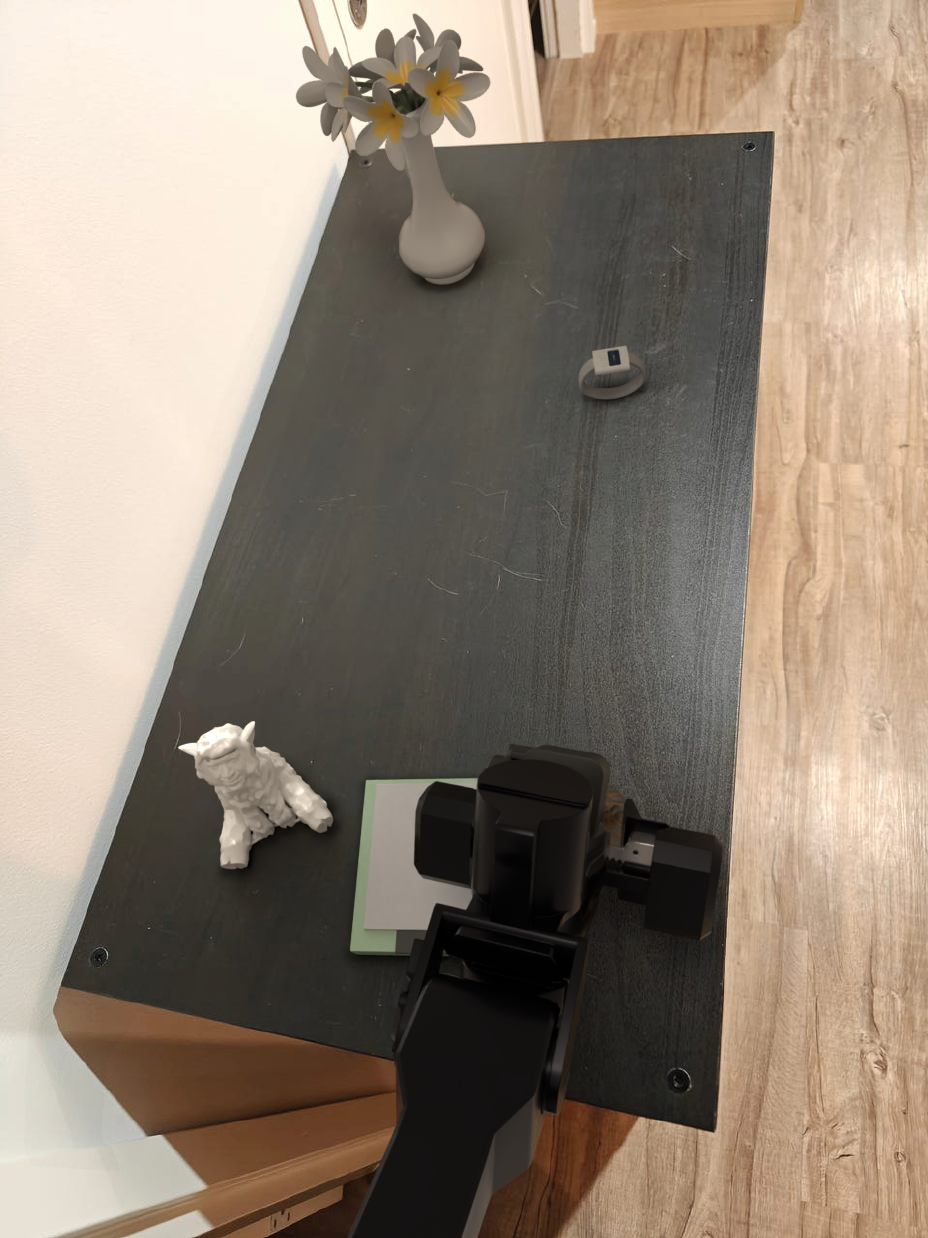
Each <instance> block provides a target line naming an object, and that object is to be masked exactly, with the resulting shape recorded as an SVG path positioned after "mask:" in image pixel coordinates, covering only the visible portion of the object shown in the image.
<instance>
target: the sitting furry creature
mask: <svg viewBox="0 0 928 1238" xmlns="http://www.w3.org/2000/svg"><path fill="white" fill-rule="evenodd" d="M255 726H256V721H253V720H252V721H250V722H248V723H247V725H245V727H244V728H242V727H240V726H238V725H234V724H232V723H228V722H227V723H225V724H224V725H221V726H214V727H213V728H212V729H211V730H209V731H207V732H205V733H203V734H201V736H200V737H199V740H197V741H196V742H188V743H185V744H182V745H179V746H178V747H177V748H178V749H179V750H180V751H182V752H184V753H186V754H188V755H191V756H192V757H193V756H194V757H193V758H194V763H195V764H194V769H195V770H196V776H197V778H198V779H199V780H201V779H203V780H204V781H205V782H207V783H208V785H209V786H214V792H215V794H217V798H218V800H219V801H220V803H221V806H222V808H223V821H222V830H221V834H220V836H219V839H218V842H219V843H220V849H219V850H220V858H219V861H220V868H223V869H228V870H236V869H240V870H241V869H244V868H247V867H248V865H249V861H250V851H251V850H252V846H253V845H255V844H256V843H258V842H259V841H261V840H263V839H267V838H268V836H273V835H274V834H275V830H276V829H275V828H276V827H280V828H282V829H288V828H287V827H290V828H292V827H294V826H295V825H296V823H298V822H301V823H303V824H305V825H308V826H309V828H310V829H312V830H313V831H315V832H316V833H319V834H322V833H326V832H327V831H328V827H329V828H331V827H332V825H333V823H334V817H333V815H332V812H331V811H330V809H329V808H328V803H327V802H326V801H325V800H324V799H323V798H322V796H321V795H319V794H318V793H316V792H315V790H313V789H312V787H311V786H310V784H308V783H307V782H306V781H305V780H303V778H302V776H301V775H298V774H297V772H296V770H295V769H294V767H292V766H291V765H290V763H288V762H287V761H286V759H285V757H282V756H281V753H280V752H276V751H272V750H271V749H269V748H268V747H267V746H262V747H259V746H258V747H257V746H256V747H255V745H254V741H255V737H256V731H255ZM266 814H268V816H267V815H266Z"/></svg>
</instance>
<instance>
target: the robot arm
mask: <svg viewBox="0 0 928 1238" xmlns="http://www.w3.org/2000/svg"><path fill="white" fill-rule="evenodd" d="M610 765H611V764H610V763H609V761H608V760H607V758H606V757H604V755H602V754H600V753H598V752H592V751H585V750H579V749H573V748H567V747H563V746H557V745H553V744H542V745H539V746H536V747H533V746H526V745H521V744H515V743H509V745H508V747H507V752H506V755H502V754H495V755H493V756H492V757H490V758H489V760H488V762H487V764H486V766H485V768H484V769H483V771H482V772H481V773H480V774H479V775H478V777H477V778H478V779H477V789H476V790H475V789H474V788H470V787H465V786H460V785H455V784H449V783H444V782H439V781H435V782H434V783H432V784H431V785H429V786H428V787H427V788H426V790H425V791H424V792H423V794H422V795H421V796H420V798H419V800H418V803H417V807H416V811H415V840H414V866H415V868H416V870H417V871H418V873H419V875H420V876H421V877H422V878H423V879H428V880H432V881H437V882H441V883H446V884H450V885H454V886H459V887H463V888H468V889H471V893H472V899H471V901H470V903H469V905H468V907H467V909H466V910H465V909H461V908H457V907H452V906H448V905H444V904H440V903H436V904H435V906H434V909H433V912H432V915H431V919H430V922H429V925H428V929H427V932H426V935H425V939H424V940H421V939H417V938H414V942H413V946H412V950H411V954H410V956H409V957H408V958H409V959H408V962H407V966H406V970H405V974H404V978H403V982H402V986H401V991H400V993H399V999H398V1001H397V1006H396V1010H395V1014H394V1018H393V1022H392V1026H391V1030H390V1031H391V1032H390V1040H391V1042H392V1046H391V1054H393V1066H394V1068H395V1112H396V1114H395V1116H396V1117H395V1121H396V1124H395V1126H394V1129H393V1132H392V1135H391V1136H390V1139H389V1141H388V1143H387V1145H386V1148H385V1151H384V1153H383V1155H382V1157H381V1158H380V1159H381V1160H380V1162H379V1164H378V1166H377V1167H376V1168H377V1169H376V1171H375V1173H374V1175H373V1178H372V1180H371V1182H370V1183H369V1186H368V1189H367V1191H366V1193H365V1196H364V1198H363V1199H362V1201H361V1202H362V1203H361V1204H360V1207H359V1209H358V1211H357V1214H356V1216H355V1218H354V1220H353V1223H352V1224H351V1225H352V1226H351V1228H350V1230H349V1232H348V1233H347V1236H346V1238H478V1237H479V1234H480V1231H481V1228H482V1225H483V1221H484V1219H485V1215H486V1212H487V1210H488V1207H489V1204H490V1201H491V1198H492V1196H493V1195H494V1194H495V1193H496V1192H498V1191H499V1190H501V1189H502V1188H503V1187H505V1186H506V1185H508V1184H509V1183H511V1182H512V1181H513V1180H515V1179H516V1178H517V1177H519V1176H520V1175H521V1174H522V1173H524V1172H525V1171H527V1170H528V1169H529V1168H530V1167H531V1165H532V1163H533V1159H534V1155H535V1153H536V1151H537V1147H538V1143H539V1140H540V1137H541V1134H542V1131H543V1127H544V1124H545V1121H546V1117H547V1114H550V1115H553V1116H556V1117H559V1116H560V1114H561V1112H562V1108H563V1106H564V1102H565V1098H566V1094H567V1088H568V1083H569V1080H570V1079H569V1078H570V1074H571V1068H572V1063H573V1061H572V1060H573V1057H574V1056H573V1055H574V1051H575V1044H576V1038H577V1032H578V1027H579V1021H580V1014H581V1009H582V1003H583V997H584V993H585V992H584V991H585V986H586V985H585V984H586V979H587V974H588V973H587V972H588V964H589V954H590V945H591V938H590V937H588V936H589V934H590V930H591V927H592V924H593V921H594V917H595V915H596V911H597V909H598V905H599V901H600V898H601V895H602V893H603V890H604V887H610V888H613V889H617V893H616V899H617V900H618V901H623V902H627V903H633V904H637V905H641V906H645V909H644V918H643V929H645V930H649V931H654V932H658V933H663V934H667V935H672V936H676V937H681V938H684V939H689V940H693V941H698V942H701V941H702V940H704V939H705V938H706V937H708V936H709V935H710V934H712V930H713V924H714V917H715V909H716V903H717V899H718V898H717V897H718V891H719V884H720V877H721V870H722V863H723V855H724V847H725V845H724V844H723V842H722V841H721V840H720V839H719V838H718V837H717V835H716V834H711V833H705V832H700V831H695V830H690V829H685V828H680V827H675V826H671V825H669V823H666V822H664V821H663V822H662V821H658V820H652V819H649V818H643V817H642V816H641V813H640V812H639V810H638V807H637V805H636V804H635V801H634V800H633V798H629V797H626V798H625V799H626V801H625V803H624V810H623V819H622V828H621V843H620V846H616V845H611V844H610V835H611V833H610V832H606V827H605V826H604V825H603V824H602V822H603V816H604V809H605V803H606V796H607V789H608V784H609V782H610V776H611V766H610ZM444 950H445V952H446V954H447V955H449V956H448V957H452V958H455V959H460V962H459V975H460V976H457V975H455V974H450V973H446V972H443V973H441V972H440V970H441V964H442V960H443V956H442V955H443V951H444ZM559 1020H560V1023H559ZM558 1024H559V1027H558Z"/></svg>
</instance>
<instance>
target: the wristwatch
mask: <svg viewBox="0 0 928 1238" xmlns="http://www.w3.org/2000/svg"><path fill="white" fill-rule="evenodd" d="M591 352H592V357H591V358H590V359H588V360H587V361H586V362H585V363H584V364H583V365H582V367H581V369H580V370H579V373H578V384H579V385H578V386H579V387H578V388H579V389H580V392H581V393H582V394H583V395H585V396H586V397H589V398H591V399H597V400H616V399H621V398H625V397H627V396H629V395H632V394H633V393H634V392H636V391H638V390H639V389H640V388H641V387H642V386H643V385H644V384H645V382H646V379H647V372H646V367H645V364H644V362H643V360H642V359H641V358H640V357H639V356H637V355H636V354H635V353H632V352H630V351H629V350H628V347H627V345H622V346H621V345H620V346H615V347H609V348H603V349H596V350H592V351H591ZM630 365H631V366H634V367H636V368H637V369H638V370H639V372H638V374H637V375H636V377H634V378H633V379H631V380H630V381H629V382H626V383H625V384H622V385H620V386H615V387H608V388H607V387H606V388H605V387H597V386H596V387H595V386H592V385H590V384H588V383H587V382H585V380H586V378H587V377H588V375H589V374H590V373H591V372H593V371H594V375H595V377H596V376H604V375H609V374H616V373H622V372H628V371H631V366H630Z"/></svg>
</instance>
